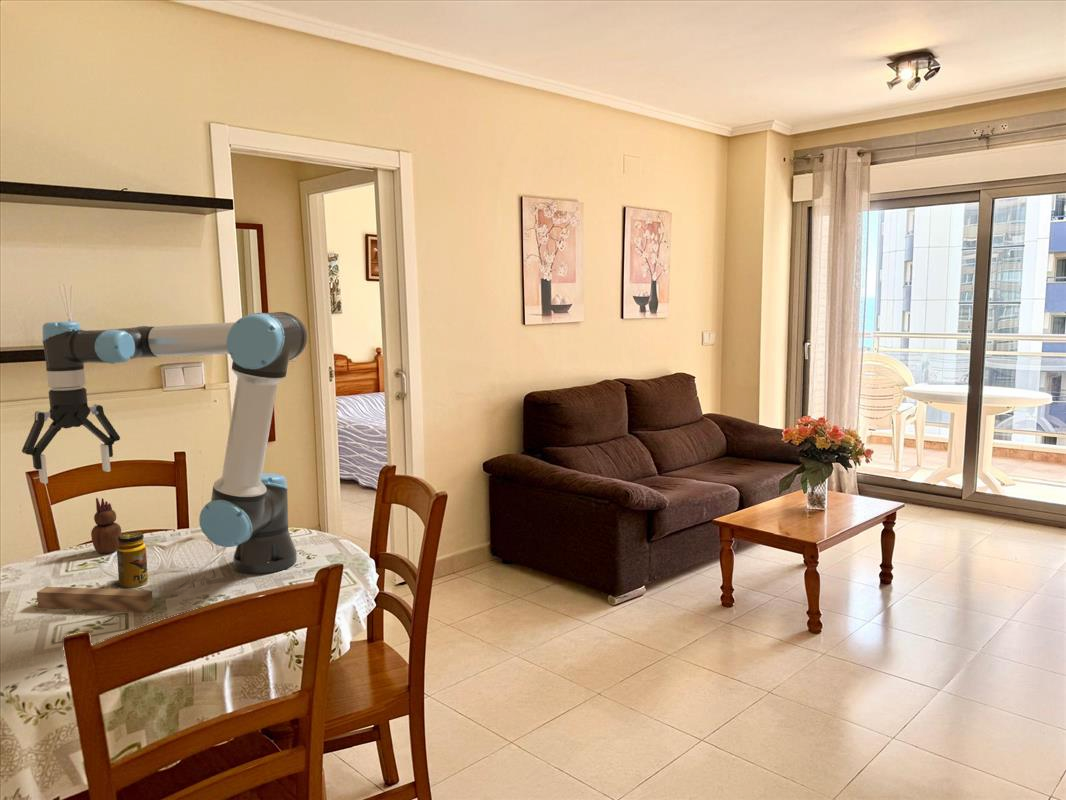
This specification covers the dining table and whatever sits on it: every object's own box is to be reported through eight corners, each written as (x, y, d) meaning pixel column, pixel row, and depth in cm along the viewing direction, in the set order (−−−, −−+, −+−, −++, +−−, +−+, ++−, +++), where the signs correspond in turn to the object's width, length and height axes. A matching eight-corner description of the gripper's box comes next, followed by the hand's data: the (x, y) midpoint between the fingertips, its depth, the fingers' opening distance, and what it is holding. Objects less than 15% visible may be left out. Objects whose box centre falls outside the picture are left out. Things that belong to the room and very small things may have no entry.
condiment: (151, 585, 175) (148, 536, 174) (110, 593, 171) (106, 543, 169) (147, 575, 181) (144, 528, 180) (107, 582, 177) (103, 534, 175)
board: (153, 605, 165) (152, 590, 164) (145, 611, 162) (144, 596, 161) (47, 601, 166) (46, 586, 165) (38, 607, 163) (36, 592, 162)
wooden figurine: (95, 557, 192) (91, 501, 190) (90, 551, 197) (86, 496, 194) (124, 551, 197) (120, 496, 195) (119, 545, 201) (115, 491, 199)
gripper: (116, 381, 187) (124, 464, 190) (-1, 392, 167) (9, 485, 171) (130, 383, 182) (137, 468, 185) (10, 395, 163) (21, 490, 166)
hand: (76, 476), depth 178 cm, fingers open, 13 cm apart
